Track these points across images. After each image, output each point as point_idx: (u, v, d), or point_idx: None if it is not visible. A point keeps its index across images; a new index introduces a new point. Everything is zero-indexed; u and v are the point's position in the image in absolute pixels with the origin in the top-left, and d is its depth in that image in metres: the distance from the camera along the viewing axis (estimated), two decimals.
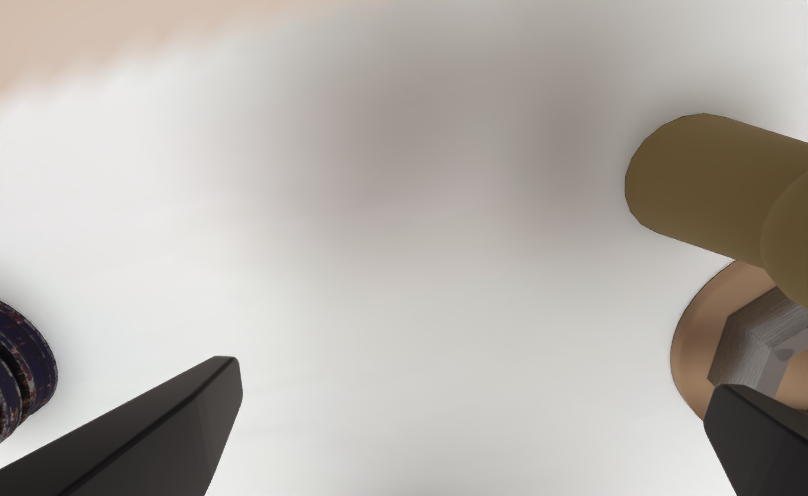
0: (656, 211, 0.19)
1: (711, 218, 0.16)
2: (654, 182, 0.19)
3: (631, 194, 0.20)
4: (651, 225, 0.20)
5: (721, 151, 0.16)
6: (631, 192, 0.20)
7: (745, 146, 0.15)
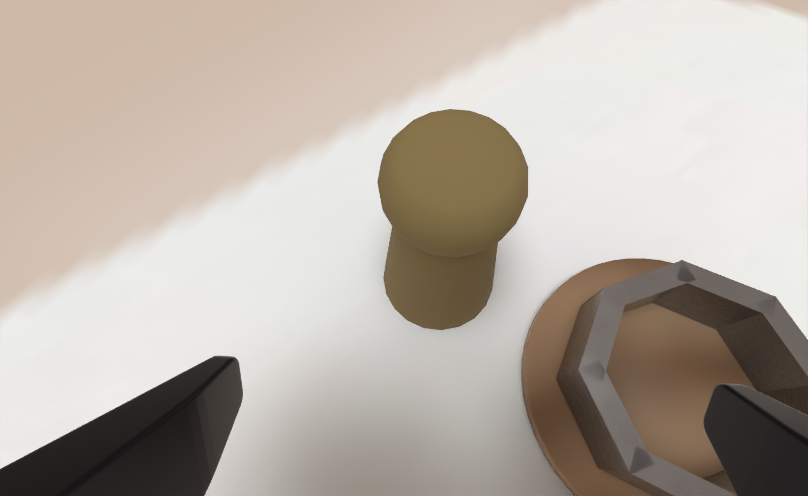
0: (402, 296, 0.20)
1: (400, 256, 0.17)
2: (388, 275, 0.21)
3: (394, 302, 0.22)
4: (420, 318, 0.21)
5: None
6: (393, 301, 0.22)
7: None
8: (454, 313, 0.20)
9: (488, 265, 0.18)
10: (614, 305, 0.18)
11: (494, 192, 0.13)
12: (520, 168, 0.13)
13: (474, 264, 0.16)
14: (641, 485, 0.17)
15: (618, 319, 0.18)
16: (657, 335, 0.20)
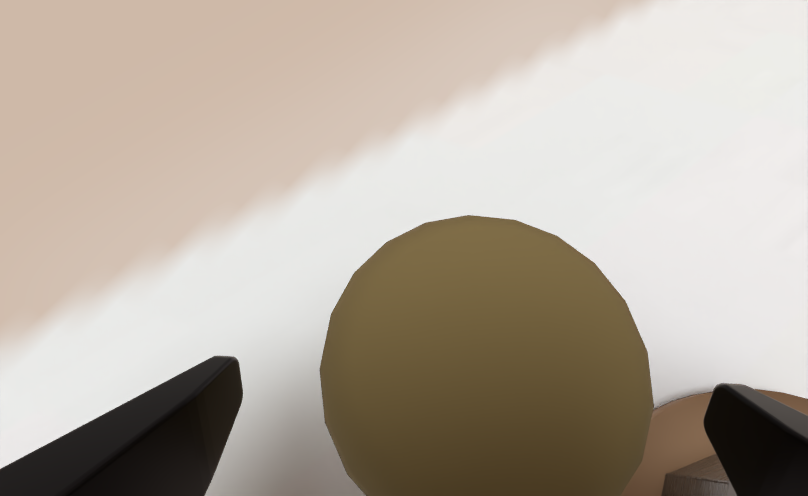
0: None
1: None
2: None
3: None
4: None
5: None
6: None
7: None
8: None
9: None
10: None
11: (591, 460, 0.05)
12: (642, 373, 0.06)
13: None
14: None
15: None
16: None
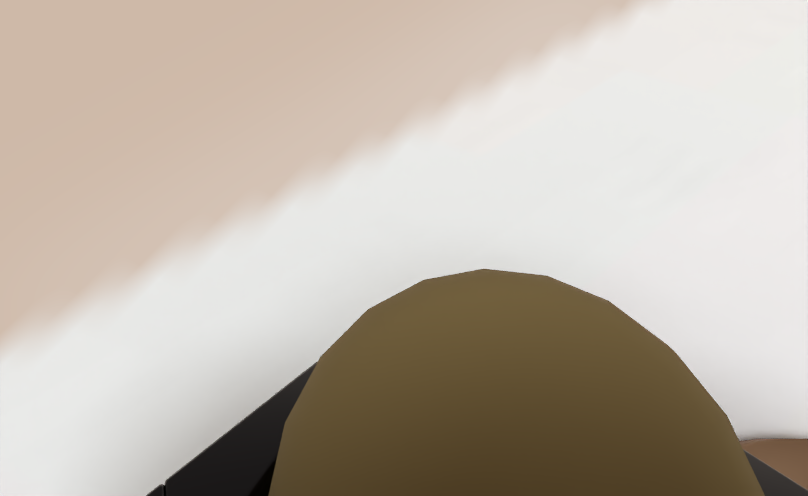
0: None
1: None
2: None
3: None
4: None
5: None
6: None
7: None
8: None
9: None
10: None
11: None
12: None
13: None
14: None
15: None
16: None
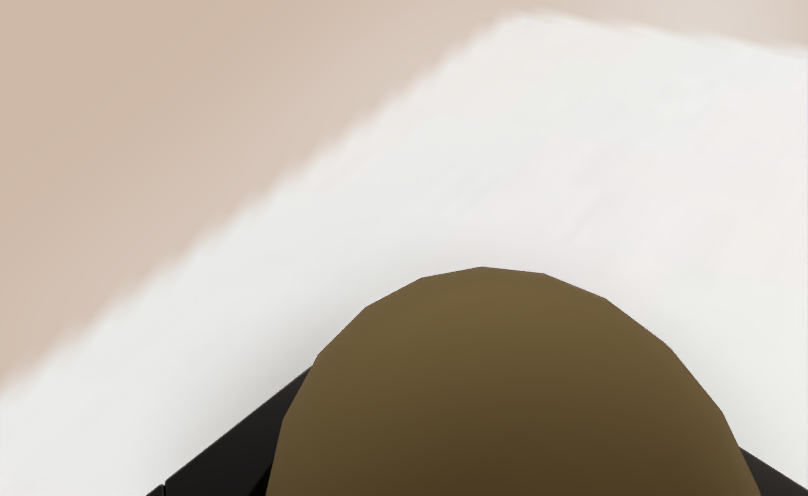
0: None
1: None
2: None
3: None
4: None
5: None
6: None
7: None
8: None
9: None
10: None
11: None
12: None
13: None
14: None
15: None
16: None
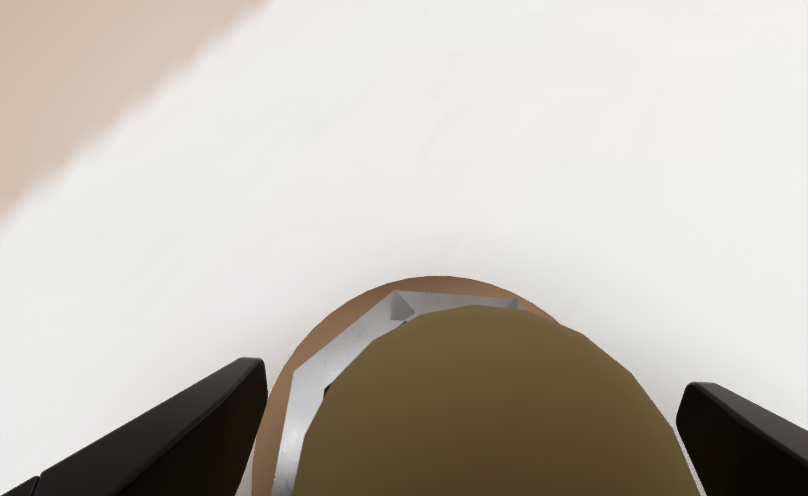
0: None
1: None
2: None
3: None
4: None
5: None
6: None
7: None
8: None
9: None
10: (310, 395, 0.12)
11: None
12: None
13: None
14: None
15: None
16: None
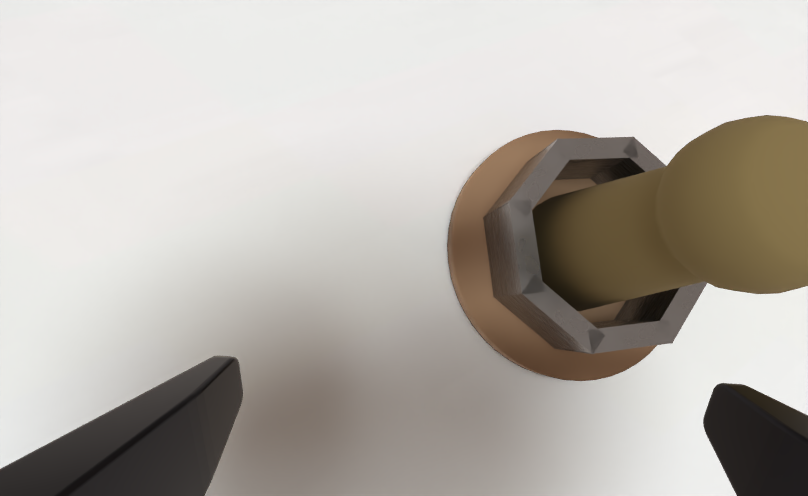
0: (549, 253, 0.19)
1: (605, 225, 0.15)
2: (547, 224, 0.19)
3: None
4: (543, 280, 0.20)
5: (606, 183, 0.17)
6: None
7: (625, 177, 0.17)
8: (580, 300, 0.19)
9: None
10: (560, 157, 0.19)
11: None
12: None
13: (674, 285, 0.15)
14: (525, 312, 0.19)
15: (559, 170, 0.19)
16: None
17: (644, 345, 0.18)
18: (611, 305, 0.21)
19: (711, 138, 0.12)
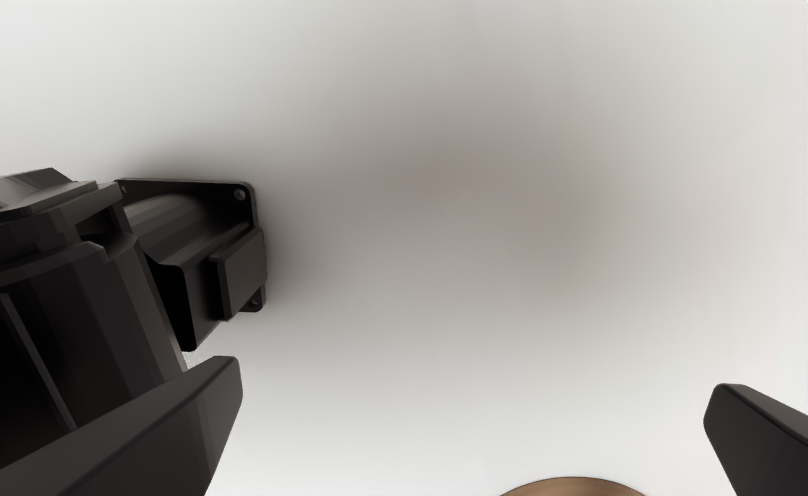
0: None
1: None
2: None
3: None
4: None
5: None
6: None
7: None
8: None
9: None
10: None
11: None
12: None
13: None
14: None
15: None
16: None
17: None
18: None
19: None
